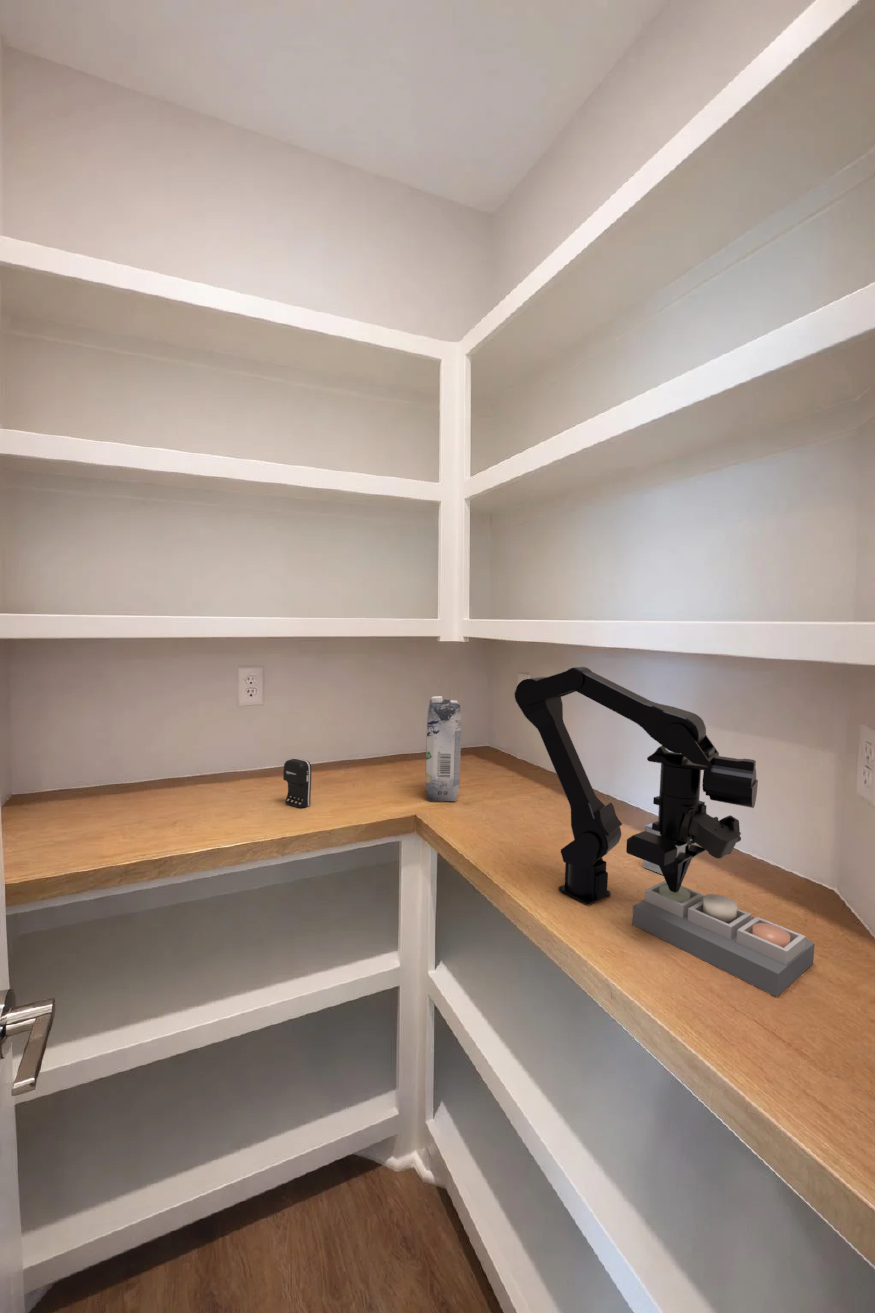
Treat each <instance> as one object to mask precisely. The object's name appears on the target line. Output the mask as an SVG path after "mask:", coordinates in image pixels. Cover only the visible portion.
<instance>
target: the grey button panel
mask: <svg viewBox="0 0 875 1313" xmlns="http://www.w3.org/2000/svg"><path fill="white" fill-rule="evenodd" d="M662 885H667V883H666V880H665V879H664V881H661V882H658V883H657V884H655V885H652V886H650V887H648V888H646V889H645V894H644V899H643V900H641V901H639V902H638V903H637V902H636V903H635V904H633V905H632V923H631V924H632V925H633V926H635V927H637V928H640V929H641V930H643V931H645V932H647V933H648V934H650V935H653V936H655V937H657V938H659V939H661V940H663V941H664V942H666V943H669V944H671V945H673V946H675V947H676V948H679V949H680V950H683V951H685V952H687V953H689V954H691V955H693V956H694V957H696V958H699V959H700V960H702V961H705V962H706V963H708V964H710V965H713V966H715V967H716V968H718V969H721V970H722V971H724V972H726V973H728V974H730V975H733V976H735V977H737V978H738V979H740V980H742V981H744V982H746V983H748V984H751V985H752V986H755V987H756V988H758V989H760V990H762V991H764V992H766V993H768V994H770V995H772V996H773V997H776V998H777V997H779V996H780V995H781V994H782V993H783V992H784V991H785V990H786V989H787V988H789V987H790V986H791V985H792V984H793V983H794V982H795V981H797V979H799V977H800V976H802V974H804V973H805V972H806V971H807V970H808V969H809V968H811V966H813V965H814V956H815V945H816V944H815V942H813V941H811V940H808V939H806V935H803V934H800V933H799V932H796V931H794V930H791V929H788V928H786V927H784V926H781V925H779V924H776V923H773V922H771V921H769V920H767V919H764V918H762V917H759V916H756V917H753V916H752V913H749V912H747V911H745V910H742V909H739V908H737V916H736V920H734V921H733V922H730V923H725V922H723V921H721V920H718V919H716V918H714V917H712V916H709V915H707V914H705V913H703V898H704V896H705V895H704V894H702V893H700V892H697V891H696V890H694V889H690V888H688V887H686V886H683V885H681V887H682V888H684V889H686V890H687V891H689V893H690V899H689V900H687V901H685V902H683V903H679V902H677V901H675V900H672V899H670V898H668V897H666V896H663V895H661V894H659V888H660V886H662ZM757 923H766V924H771V925H774V926H777V927H780V928H782V929H783V930H785V931H786V932H788V933H789V935H790V943H789V944H788V945H787V946H785V947H784V948H783V947H781V946H778V945H776V944H774V943H771V942H769V941H767V940H764V939H762V938H760V937H758V936H755V935H753V934H752V932H753V925H754V924H757Z"/></svg>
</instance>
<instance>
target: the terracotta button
mask: <svg viewBox="0 0 875 1313" xmlns="http://www.w3.org/2000/svg"><path fill="white" fill-rule="evenodd" d="M752 934H753V935H755V936H758V937H760V938H762V939H764V940H767V941H769V942H771V943H774V944H776V945H778V946H781V947H783V948H784V947H785V946H787V945H788V944H789V943H790V935H789V933H788V932H786V931H785V930H783V929H782V928H780V927H777V926H774V925H771V924H766V923H757V924H754V925H753V932H752Z"/></svg>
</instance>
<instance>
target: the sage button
mask: <svg viewBox="0 0 875 1313" xmlns="http://www.w3.org/2000/svg"><path fill="white" fill-rule="evenodd" d="M659 894H661V895H663V896H666V897H668V898H670V899H672V900H675V901H677V902H679V903H683V902H685V901H687V900H689V899H690V893H689V891H687V890H686V889H684V888H682V887H680V889H679V891H678V892H676V893H675V892H672V891H670V890H669V887H668V885H662V886H660V888H659Z"/></svg>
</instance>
